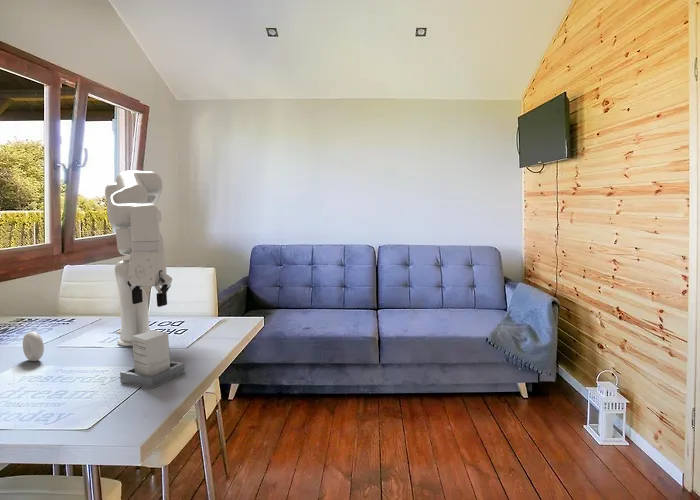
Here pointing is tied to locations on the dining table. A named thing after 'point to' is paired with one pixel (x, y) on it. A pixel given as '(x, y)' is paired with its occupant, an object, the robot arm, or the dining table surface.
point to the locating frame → (152, 381)
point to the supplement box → (151, 352)
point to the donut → (33, 346)
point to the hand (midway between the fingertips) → (149, 304)
